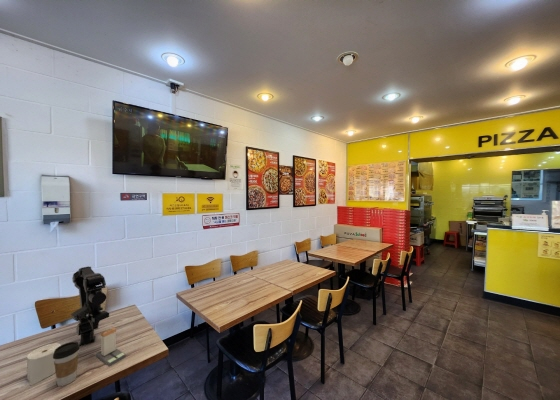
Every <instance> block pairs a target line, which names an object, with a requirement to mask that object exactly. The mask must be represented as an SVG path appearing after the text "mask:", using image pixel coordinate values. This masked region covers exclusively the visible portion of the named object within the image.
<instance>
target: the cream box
mask: <svg viewBox="0 0 560 400" xmlns="http://www.w3.org/2000/svg"><path fill="white" fill-rule="evenodd" d="M116 333H117V328H115V327H113V326H112V327H110V328H108V329H105V330H104V331H101V332H100V339H101V340H100V347H101V348H100V349H101V354H102V355H104V356H105V355H107V354H109V353H111V352H113V351H114V350H116V349H117V344H116V343H117V341H116V340H117V339H116V338H117V337H116V336H117V334H116Z"/></svg>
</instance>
